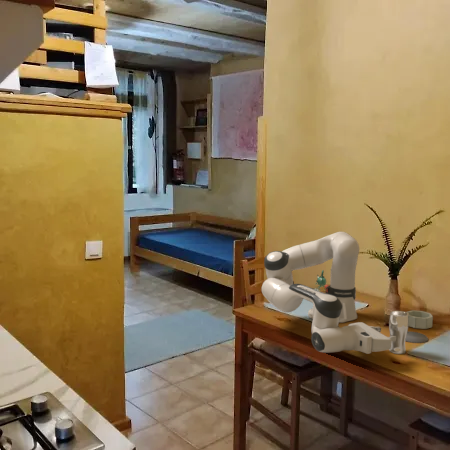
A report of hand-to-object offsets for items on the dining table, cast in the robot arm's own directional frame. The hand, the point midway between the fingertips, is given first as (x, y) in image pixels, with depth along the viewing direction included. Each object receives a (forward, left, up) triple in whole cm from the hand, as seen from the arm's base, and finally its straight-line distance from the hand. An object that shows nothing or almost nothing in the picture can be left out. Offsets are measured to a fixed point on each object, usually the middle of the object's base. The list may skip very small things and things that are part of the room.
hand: (387, 333), depth 190 cm
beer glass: (+4, +3, -8) cm, 9 cm away
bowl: (+17, +35, -8) cm, 40 cm away
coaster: (+12, +19, -8) cm, 24 cm away
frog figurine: (-24, +75, -8) cm, 79 cm away
